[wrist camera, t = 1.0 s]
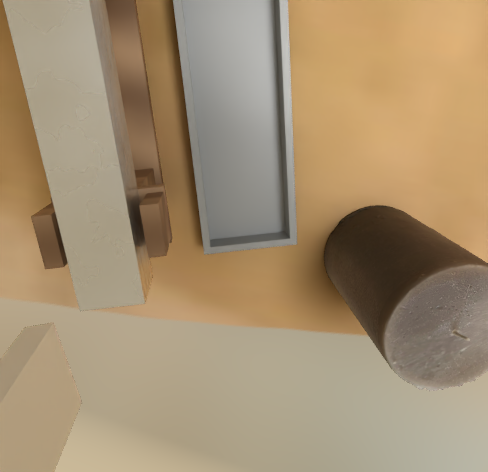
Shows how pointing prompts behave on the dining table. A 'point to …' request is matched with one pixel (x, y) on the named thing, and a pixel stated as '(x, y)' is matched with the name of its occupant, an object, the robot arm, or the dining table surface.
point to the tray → (239, 120)
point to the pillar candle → (413, 295)
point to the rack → (140, 138)
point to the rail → (84, 145)
